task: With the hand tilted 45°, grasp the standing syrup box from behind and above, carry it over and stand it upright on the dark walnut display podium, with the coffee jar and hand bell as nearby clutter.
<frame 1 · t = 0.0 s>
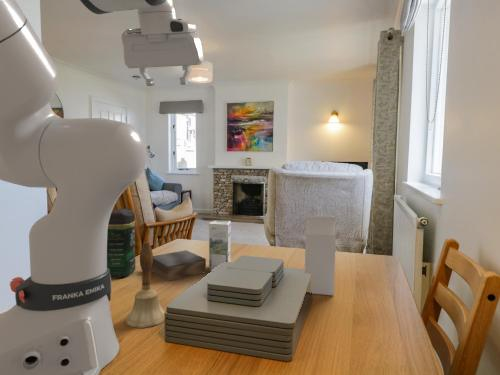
hand: (167, 85, 90), 52 cm above the table, tool tilted 20°, fingers open, 8 cm apart
coffee jar: (120, 274, 100), on the table
hand bell: (146, 319, 71), on the table
syrup box: (220, 269, 104), on the table
podium: (177, 271, 102), on the table
milk carton: (319, 290, 88), on the table
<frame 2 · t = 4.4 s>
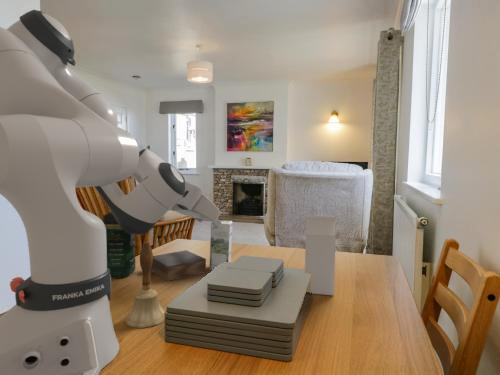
hand: (209, 222, 104), 14 cm above the table, tool tilted 50°, fingers open, 8 cm apart
syrup box: (220, 269, 104), on the table, touching gripper
everything else where it was.
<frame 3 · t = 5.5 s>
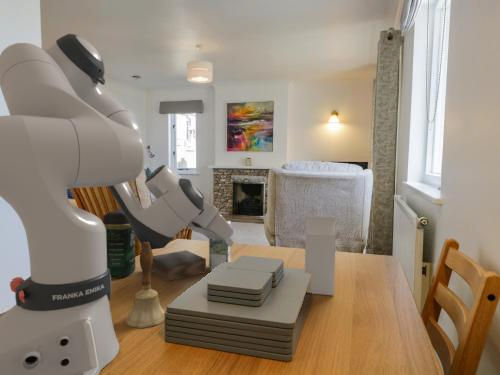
hand: (221, 241, 104), 8 cm above the table, tool tilted 45°, fingers open, 8 cm apart
nothing on the table moved.
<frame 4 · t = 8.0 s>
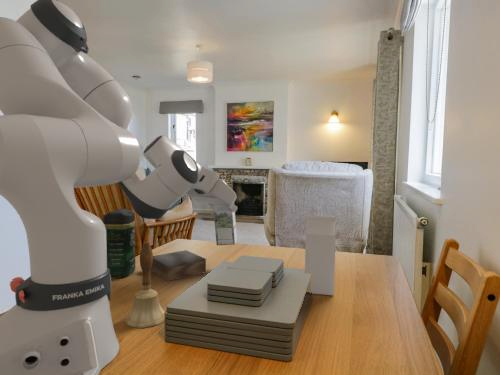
hand: (226, 209, 105), 18 cm above the table, tool tilted 50°, fingers closed on syrup box, 8 cm apart
syrup box: (227, 243, 105), point 7 cm above the table, touching gripper
everything else where it was.
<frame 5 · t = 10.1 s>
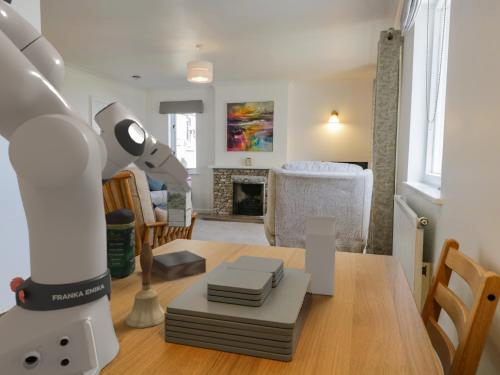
hand: (181, 189, 100), 24 cm above the table, tool tilted 45°, fingers closed on syrup box, 8 cm apart
syrup box: (179, 226, 101), point 13 cm above the table, touching gripper
everything else where it was.
when the fingers open (14 cm above the table, at t = 13.8 s): syrup box stays where it is, resting on podium.
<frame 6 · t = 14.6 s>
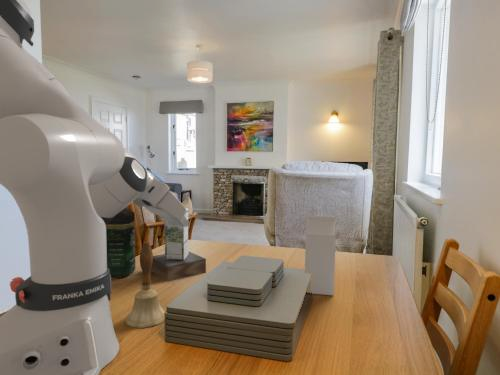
hand: (179, 222, 101), 14 cm above the table, tool tilted 45°, fingers open, 8 cm apart
syrup box: (177, 258, 102), point 4 cm above the table, touching podium
everything else where it was.
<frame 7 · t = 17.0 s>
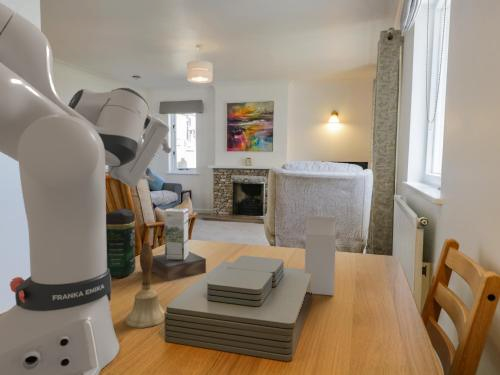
hand: (161, 164, 101), 31 cm above the table, tool tilted 60°, fingers open, 8 cm apart
nothing on the table moved.
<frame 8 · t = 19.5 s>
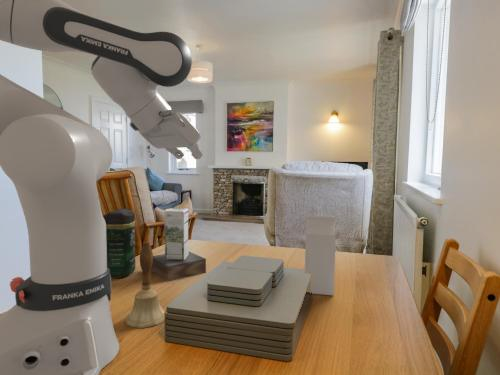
hand: (190, 157, 86), 33 cm above the table, tool tilted 45°, fingers open, 8 cm apart
nothing on the table moved.
at the end: syrup box inside the target area on the podium (0.2 cm from its centre), point 3.8 cm above the podium's base; syrup box tilted 0°; the gripper is holding nothing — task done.
